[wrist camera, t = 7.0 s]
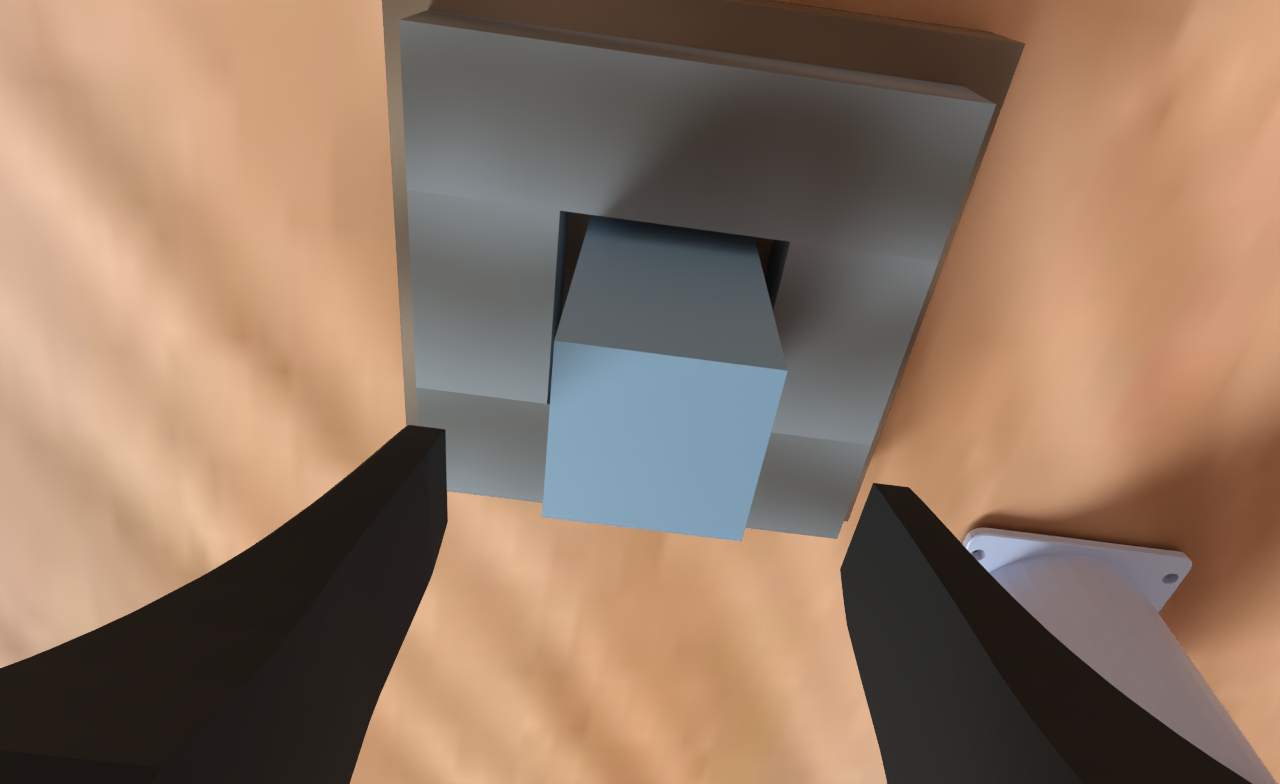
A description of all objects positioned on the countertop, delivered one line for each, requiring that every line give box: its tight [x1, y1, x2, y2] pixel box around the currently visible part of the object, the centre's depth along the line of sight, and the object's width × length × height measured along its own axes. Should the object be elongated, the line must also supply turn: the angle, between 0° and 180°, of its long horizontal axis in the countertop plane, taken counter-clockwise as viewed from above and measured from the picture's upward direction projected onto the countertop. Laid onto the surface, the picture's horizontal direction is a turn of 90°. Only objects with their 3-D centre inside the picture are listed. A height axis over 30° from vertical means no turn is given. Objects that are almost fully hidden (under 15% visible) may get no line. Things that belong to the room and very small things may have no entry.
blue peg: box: [542, 215, 788, 541], centre depth 17 cm, size 4×4×7 cm
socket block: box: [382, 0, 1025, 539], centre depth 20 cm, size 14×14×4 cm
